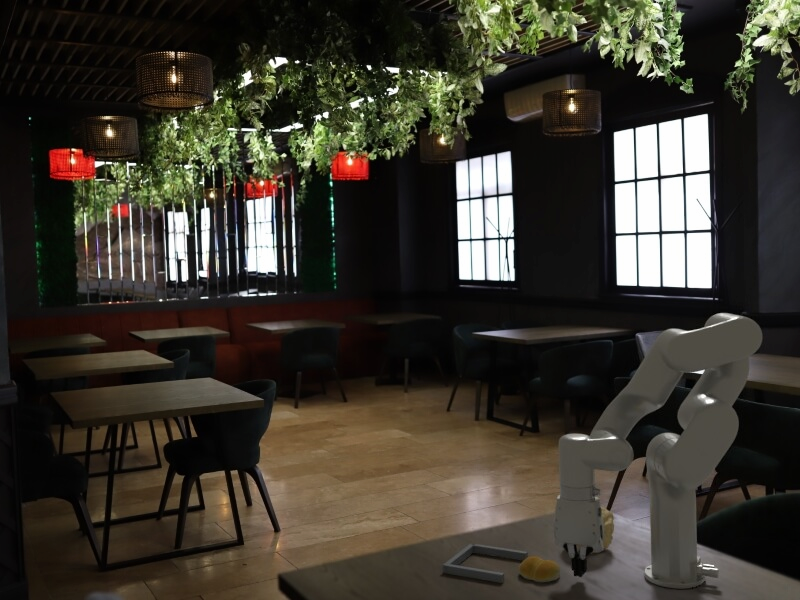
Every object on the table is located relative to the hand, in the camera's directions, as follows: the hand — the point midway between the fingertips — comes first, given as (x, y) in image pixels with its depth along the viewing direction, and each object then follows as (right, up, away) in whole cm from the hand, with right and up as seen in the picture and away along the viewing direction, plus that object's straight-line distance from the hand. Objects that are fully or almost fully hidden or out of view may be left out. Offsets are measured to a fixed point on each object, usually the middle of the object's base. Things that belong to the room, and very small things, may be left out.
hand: (579, 574), depth 181 cm
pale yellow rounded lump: (+7, -1, +19) cm, 21 cm away
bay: (-19, -2, +11) cm, 22 cm away
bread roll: (-8, -2, +5) cm, 9 cm away
